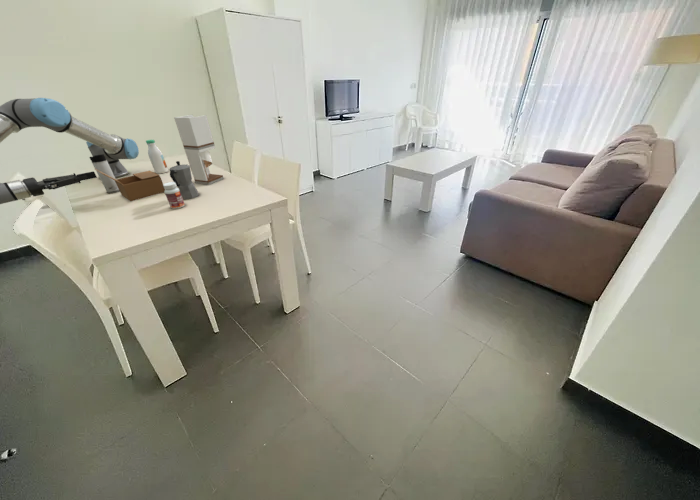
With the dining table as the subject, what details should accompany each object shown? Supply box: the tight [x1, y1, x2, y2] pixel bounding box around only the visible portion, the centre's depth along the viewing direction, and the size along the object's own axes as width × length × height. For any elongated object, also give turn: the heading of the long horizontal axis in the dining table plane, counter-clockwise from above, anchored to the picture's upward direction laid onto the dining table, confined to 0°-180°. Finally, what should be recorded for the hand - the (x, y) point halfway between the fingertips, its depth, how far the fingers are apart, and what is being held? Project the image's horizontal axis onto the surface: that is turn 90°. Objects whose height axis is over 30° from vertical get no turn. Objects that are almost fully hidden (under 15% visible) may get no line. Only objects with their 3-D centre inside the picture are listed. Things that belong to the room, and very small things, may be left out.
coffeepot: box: [168, 160, 200, 200], centre depth 141 cm, size 15×9×18 cm, turn 179°
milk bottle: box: [145, 139, 169, 175], centre depth 180 cm, size 8×8×20 cm
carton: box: [115, 170, 166, 202], centre depth 149 cm, size 17×14×9 cm
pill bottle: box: [163, 181, 186, 210], centre depth 132 cm, size 6×6×11 cm
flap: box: [94, 168, 122, 184], centre depth 138 cm, size 8×14×1 cm
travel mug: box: [88, 154, 120, 194], centre depth 150 cm, size 6×7×20 cm
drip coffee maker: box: [173, 114, 224, 186], centre depth 158 cm, size 11×11×35 cm
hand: (95, 174), depth 134 cm, fingers closed
